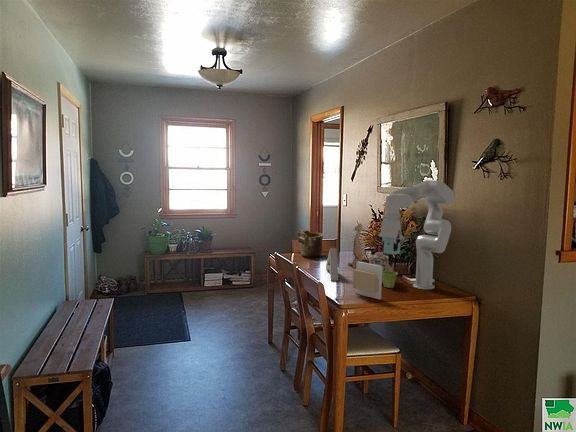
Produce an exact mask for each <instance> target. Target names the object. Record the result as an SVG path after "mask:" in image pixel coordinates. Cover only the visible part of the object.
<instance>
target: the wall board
mask: <svg viewBox="0 0 576 432" xmlns="http://www.w3.org/2000/svg"><path fill="white" fill-rule="evenodd" d="M352 274H353V278H352V289H355V290H354V291H355V292H354V293H355V294H358V295H360V296H364V297H367V298H368V297H369V298H371V299H375V300H381V299H382V284H383V283H382V266H379V265H374V264H369V262H368V263H367V262H363V261H362V262H359V261H358V262H357V263H356V268H355V269H353V271H352Z"/></svg>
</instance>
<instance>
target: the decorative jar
mask: <svg viewBox="0 0 576 432" xmlns="http://www.w3.org/2000/svg"><path fill="white" fill-rule="evenodd" d="M369 255H370V256H369V259H368V263H369V264H374V265H379V266H382V271H389V266H390V265H389V261H390V257H389V256H388V255H387V254H384V253H383V252H381V251H377V252H375V253H374V254H369ZM382 284H383V276H382Z"/></svg>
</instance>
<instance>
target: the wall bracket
mask: <svg viewBox="0 0 576 432" xmlns="http://www.w3.org/2000/svg"><path fill="white" fill-rule="evenodd" d="M338 269H339V263H338V247H329V251H328V255H327V259H326V263H325V270H326V272H329V274H330V282H339V270H338Z"/></svg>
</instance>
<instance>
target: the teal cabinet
mask: <svg viewBox="0 0 576 432" xmlns="http://www.w3.org/2000/svg"><path fill="white" fill-rule="evenodd" d="M398 239H399V238H398ZM404 241H405V238H404V239H402V240H401V241H400V242H399V243H398V249H397V251H393V247H394V244H395V242H394V239H393V238H386V237H384V249H383V252H382V253H383V254H386V255H392V256H393V255H398V254H399V255H400V254H401V244H404V243H405V242H404Z"/></svg>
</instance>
